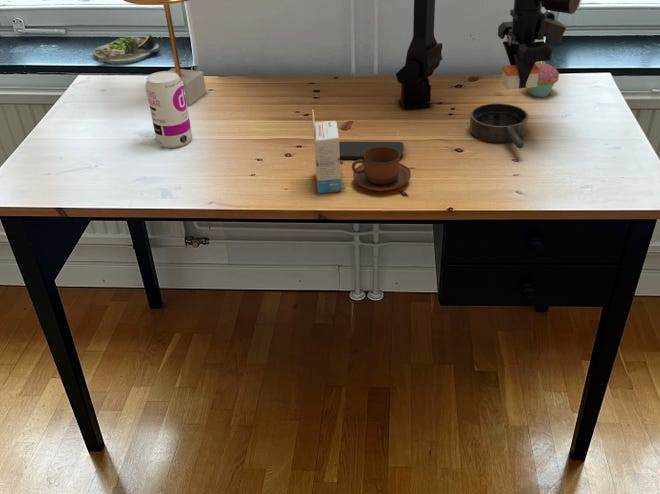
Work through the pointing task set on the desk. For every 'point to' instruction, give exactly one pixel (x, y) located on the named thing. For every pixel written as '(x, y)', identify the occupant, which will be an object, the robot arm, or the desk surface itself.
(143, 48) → the salad plate
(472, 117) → the pan
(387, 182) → the cup and saucer
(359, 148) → the phone
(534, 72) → the sushi
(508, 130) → the pan handle
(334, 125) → the ink box
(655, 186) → the desk surface
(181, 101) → the supplement can
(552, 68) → the cupcake
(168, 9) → the lamp
